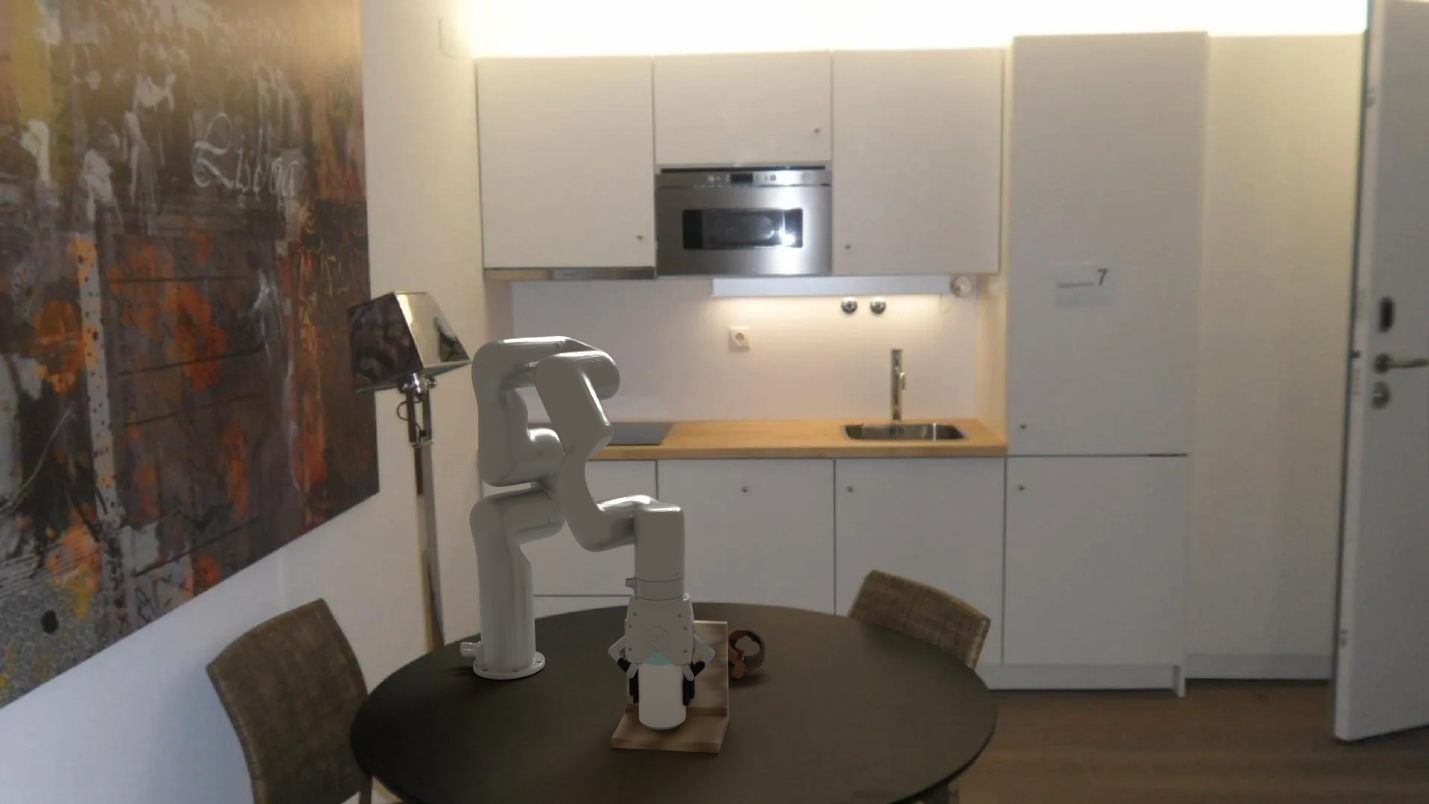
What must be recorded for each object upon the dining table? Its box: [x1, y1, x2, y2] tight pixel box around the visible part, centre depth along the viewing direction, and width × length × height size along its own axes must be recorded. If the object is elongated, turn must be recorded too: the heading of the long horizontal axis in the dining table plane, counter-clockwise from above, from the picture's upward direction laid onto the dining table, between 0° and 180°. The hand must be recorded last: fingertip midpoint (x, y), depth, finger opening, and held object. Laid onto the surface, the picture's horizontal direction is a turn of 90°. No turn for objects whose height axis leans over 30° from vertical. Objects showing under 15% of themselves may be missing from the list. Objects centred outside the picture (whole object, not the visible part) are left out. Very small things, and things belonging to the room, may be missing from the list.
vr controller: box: [727, 627, 766, 680], centre depth 184 cm, size 12×10×8 cm
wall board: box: [610, 617, 730, 754], centre depth 157 cm, size 16×11×16 cm
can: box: [638, 652, 686, 730], centre depth 157 cm, size 7×7×12 cm
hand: (662, 700), depth 157 cm, fingers closed on can, 7 cm apart
